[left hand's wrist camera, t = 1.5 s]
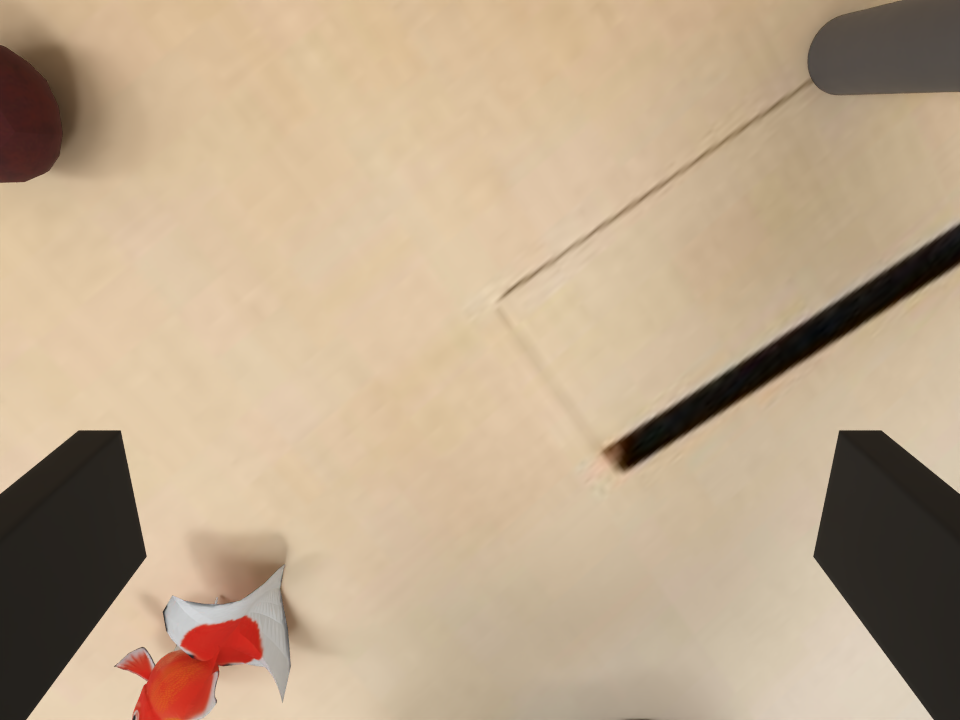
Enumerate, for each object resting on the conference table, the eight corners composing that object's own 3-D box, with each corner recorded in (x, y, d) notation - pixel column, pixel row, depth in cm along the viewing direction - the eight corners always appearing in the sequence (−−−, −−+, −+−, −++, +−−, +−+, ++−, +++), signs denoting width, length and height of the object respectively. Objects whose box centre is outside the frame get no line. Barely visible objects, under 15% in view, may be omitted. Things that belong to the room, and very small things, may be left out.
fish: (50, 640, 48) (57, 755, 41) (236, 496, 52) (275, 578, 44) (151, 701, 55) (174, 810, 47) (311, 569, 58) (356, 651, 51)
